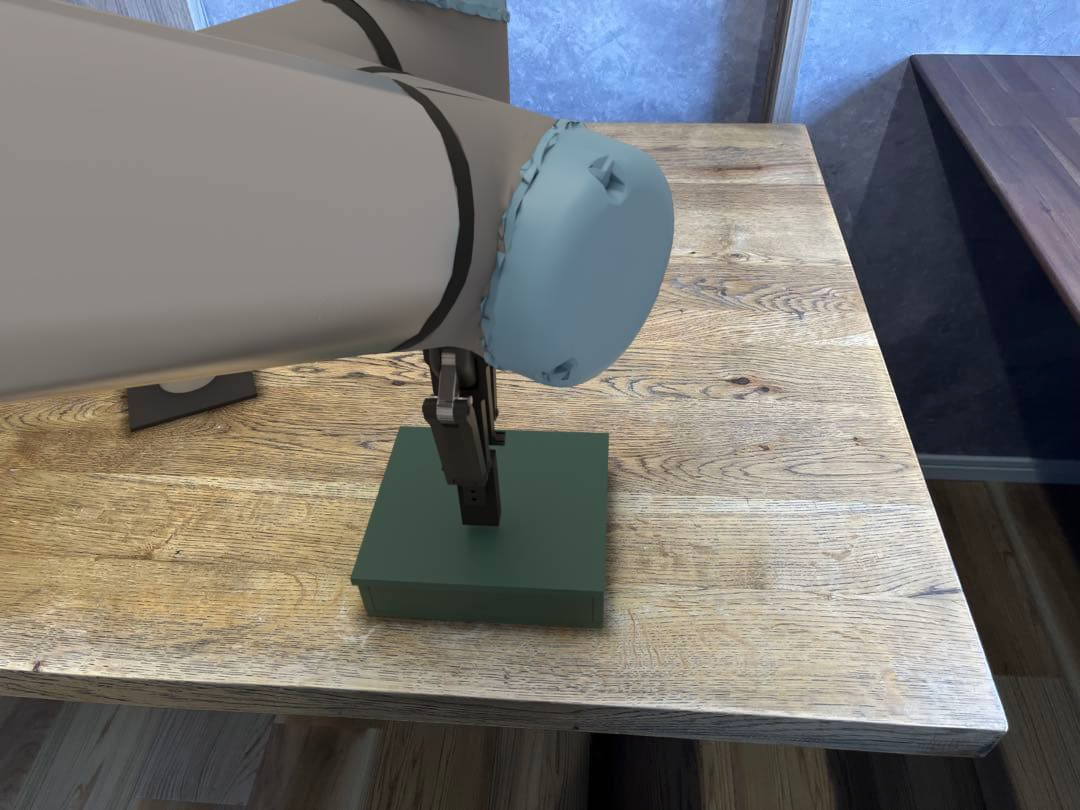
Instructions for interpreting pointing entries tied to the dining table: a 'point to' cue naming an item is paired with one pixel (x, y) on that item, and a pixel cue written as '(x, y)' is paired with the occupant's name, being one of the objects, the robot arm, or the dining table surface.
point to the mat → (186, 399)
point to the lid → (490, 551)
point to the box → (483, 606)
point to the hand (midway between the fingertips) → (482, 517)
